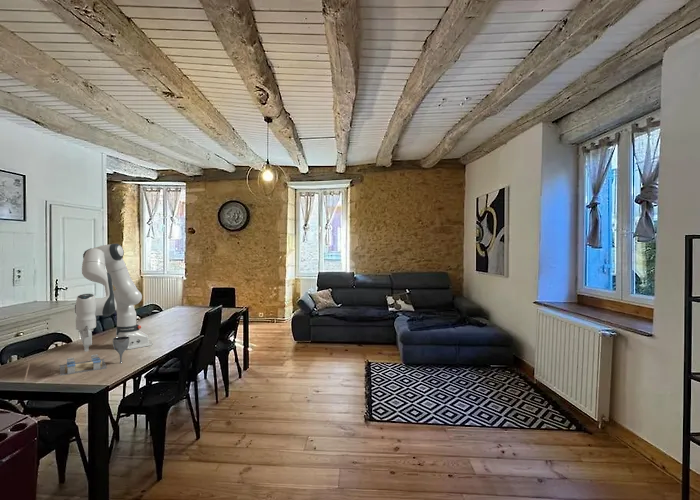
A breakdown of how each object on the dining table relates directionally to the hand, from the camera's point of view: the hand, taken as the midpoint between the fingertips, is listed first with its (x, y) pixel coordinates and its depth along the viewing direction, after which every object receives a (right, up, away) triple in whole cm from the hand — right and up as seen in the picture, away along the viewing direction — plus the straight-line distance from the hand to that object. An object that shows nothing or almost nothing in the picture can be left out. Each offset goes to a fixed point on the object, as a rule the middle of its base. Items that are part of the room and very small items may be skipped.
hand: (86, 350), depth 199 cm
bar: (-1, -10, 0) cm, 10 cm away
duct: (-4, -11, +4) cm, 12 cm away
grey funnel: (+11, -11, +11) cm, 20 cm away
